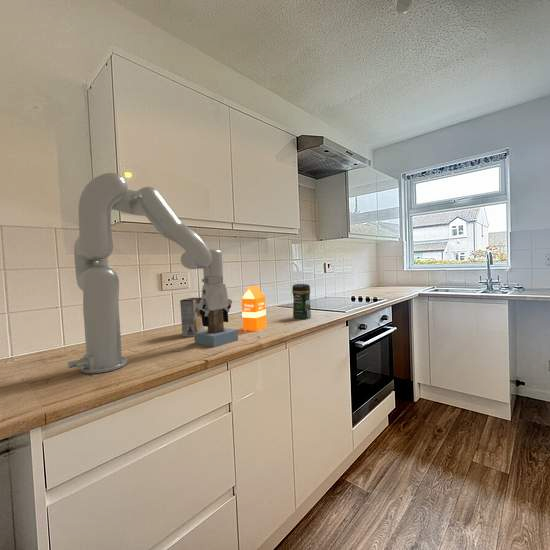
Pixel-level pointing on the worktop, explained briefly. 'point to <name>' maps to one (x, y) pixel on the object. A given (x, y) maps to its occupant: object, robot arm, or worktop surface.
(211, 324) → the peg
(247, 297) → the orange juice
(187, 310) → the coffee box
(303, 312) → the coffee jar
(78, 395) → the worktop surface
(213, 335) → the socket block
